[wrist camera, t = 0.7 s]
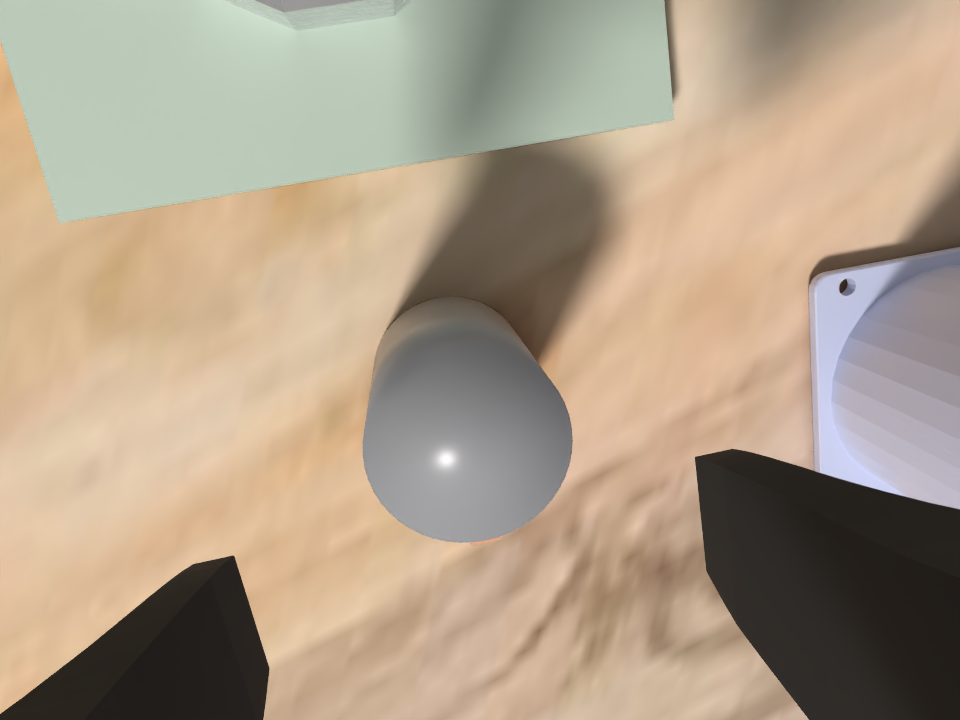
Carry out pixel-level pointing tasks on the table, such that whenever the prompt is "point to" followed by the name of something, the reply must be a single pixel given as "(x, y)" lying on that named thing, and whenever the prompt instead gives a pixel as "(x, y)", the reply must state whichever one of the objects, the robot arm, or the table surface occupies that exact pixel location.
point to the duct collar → (321, 11)
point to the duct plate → (313, 90)
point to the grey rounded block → (462, 424)
